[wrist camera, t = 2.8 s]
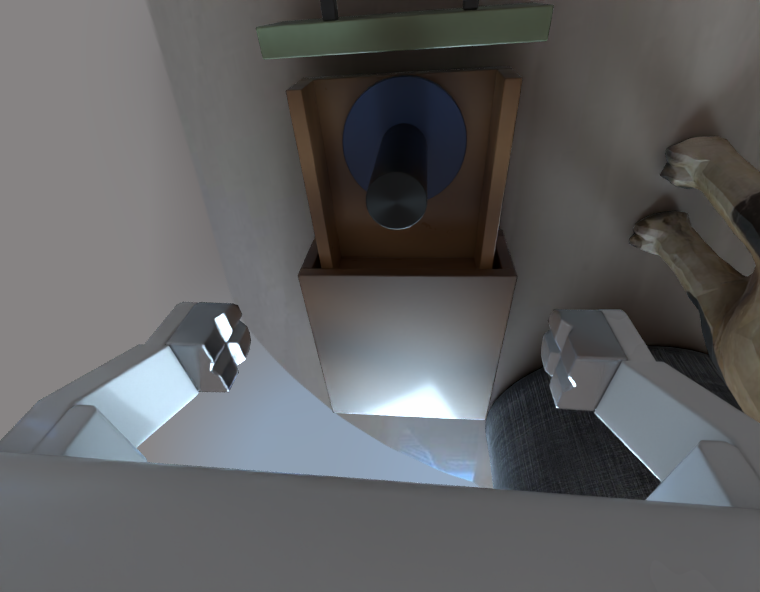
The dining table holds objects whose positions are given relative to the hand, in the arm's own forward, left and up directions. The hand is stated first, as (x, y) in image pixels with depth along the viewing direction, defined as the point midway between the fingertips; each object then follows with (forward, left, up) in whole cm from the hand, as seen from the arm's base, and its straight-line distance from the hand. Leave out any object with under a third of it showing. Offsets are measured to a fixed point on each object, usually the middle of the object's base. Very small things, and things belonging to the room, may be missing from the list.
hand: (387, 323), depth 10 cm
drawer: (0, +1, -16) cm, 16 cm away
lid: (0, 0, -15) cm, 15 cm away
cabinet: (0, -14, -17) cm, 22 cm away
